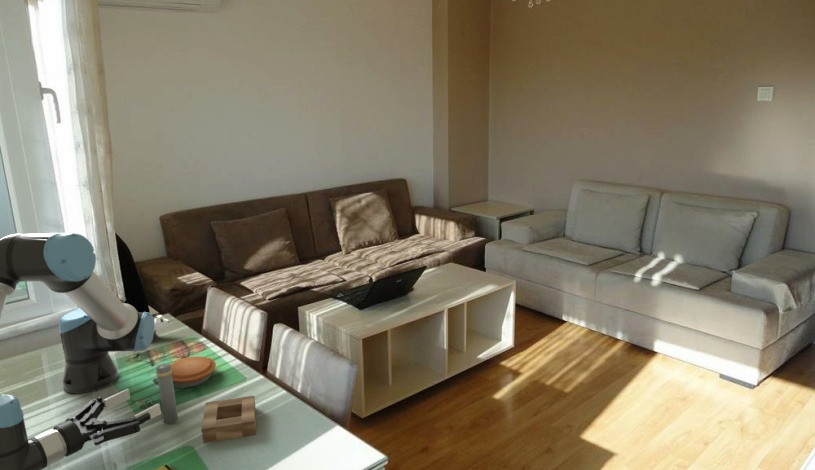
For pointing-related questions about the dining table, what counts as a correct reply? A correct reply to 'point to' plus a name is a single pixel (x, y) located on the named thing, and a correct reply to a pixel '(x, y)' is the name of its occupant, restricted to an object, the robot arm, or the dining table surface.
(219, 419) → the wooden square frame
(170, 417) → the gray cylinder
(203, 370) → the pie
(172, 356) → the dining table surface
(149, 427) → the dining table surface
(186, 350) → the dining table surface
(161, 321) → the giant panda
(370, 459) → the dining table surface
